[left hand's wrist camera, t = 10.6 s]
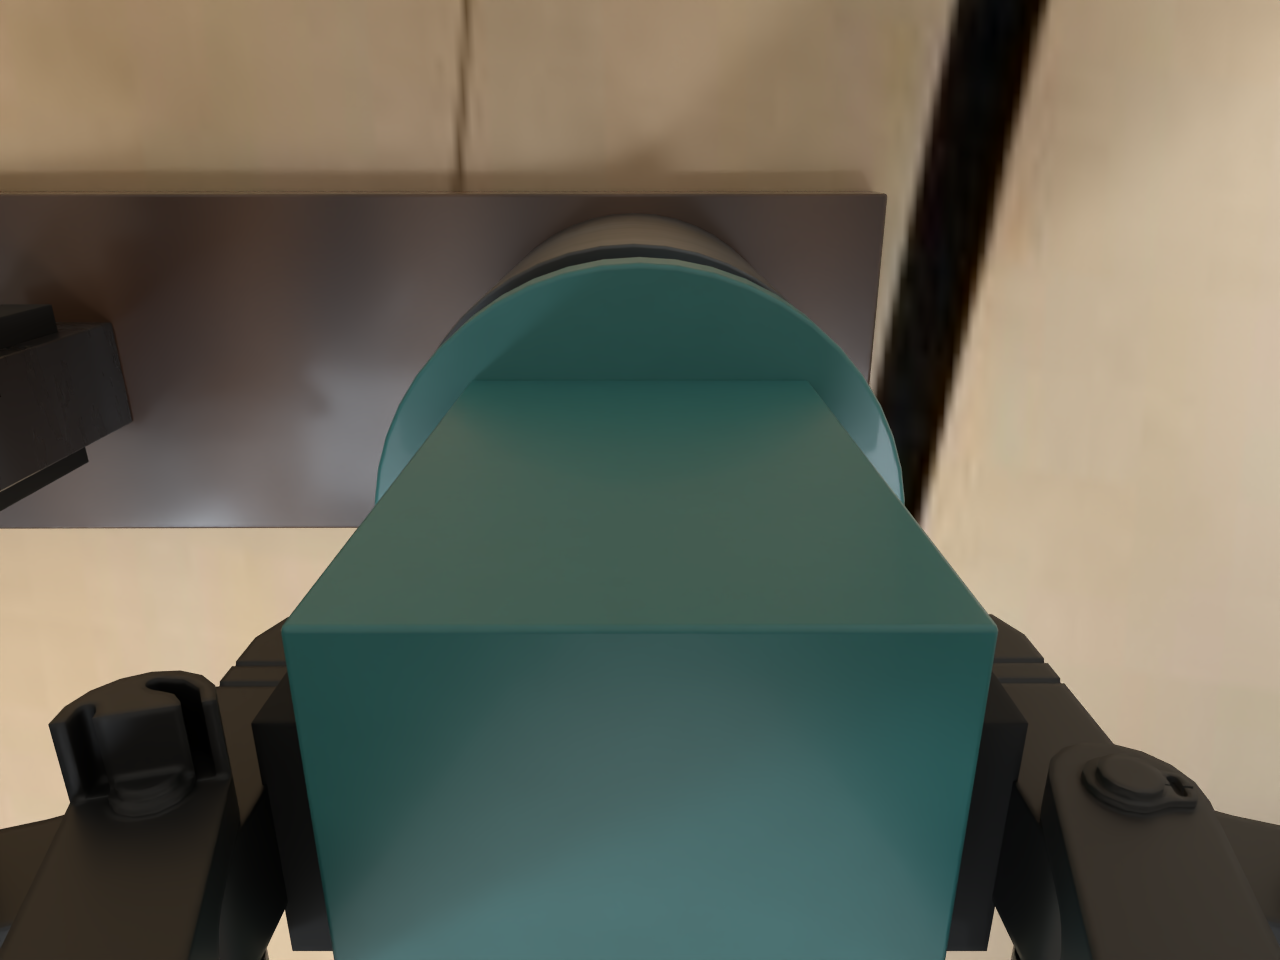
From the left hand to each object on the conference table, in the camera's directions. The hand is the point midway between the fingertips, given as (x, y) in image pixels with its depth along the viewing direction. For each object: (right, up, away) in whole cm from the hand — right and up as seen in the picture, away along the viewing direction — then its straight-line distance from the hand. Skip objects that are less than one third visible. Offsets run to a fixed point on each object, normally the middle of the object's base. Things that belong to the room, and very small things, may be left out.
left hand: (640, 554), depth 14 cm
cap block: (0, +1, +2) cm, 2 cm away
